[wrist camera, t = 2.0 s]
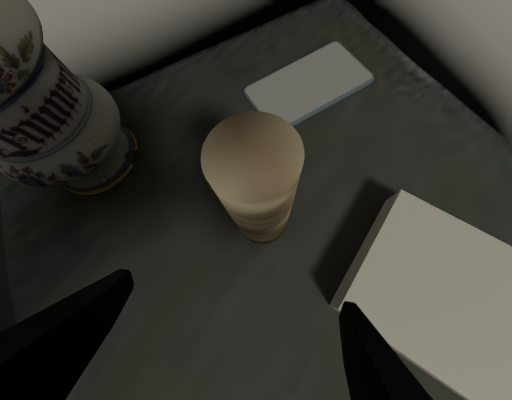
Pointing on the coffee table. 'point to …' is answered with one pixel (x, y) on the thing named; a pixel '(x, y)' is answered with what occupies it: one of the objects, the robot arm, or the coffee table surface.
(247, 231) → the birch pillar
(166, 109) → the coffee table surface
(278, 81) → the smartphone
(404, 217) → the cream plinth
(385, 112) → the coffee table surface
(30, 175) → the apothecary jar
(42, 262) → the coffee table surface
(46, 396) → the robot arm
